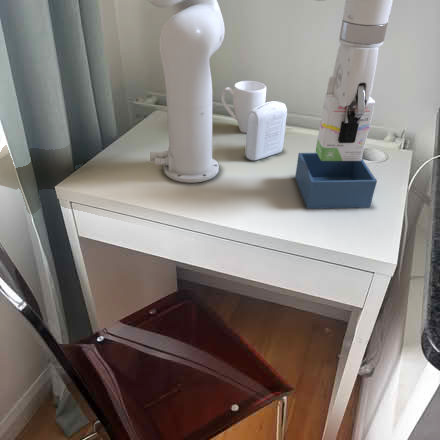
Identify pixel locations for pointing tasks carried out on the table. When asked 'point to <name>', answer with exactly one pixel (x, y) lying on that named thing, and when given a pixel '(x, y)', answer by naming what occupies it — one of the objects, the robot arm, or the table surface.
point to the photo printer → (265, 130)
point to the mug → (245, 100)
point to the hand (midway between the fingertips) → (342, 135)
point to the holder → (334, 182)
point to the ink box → (331, 126)
